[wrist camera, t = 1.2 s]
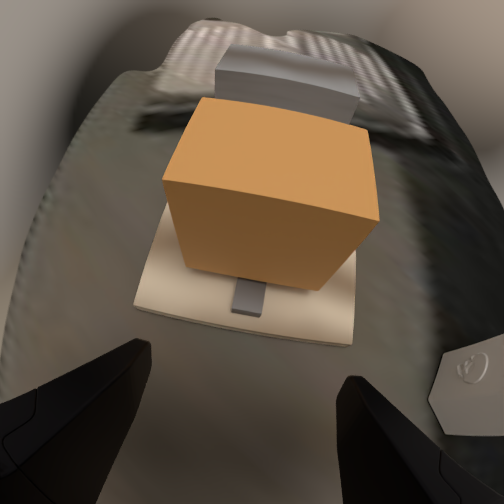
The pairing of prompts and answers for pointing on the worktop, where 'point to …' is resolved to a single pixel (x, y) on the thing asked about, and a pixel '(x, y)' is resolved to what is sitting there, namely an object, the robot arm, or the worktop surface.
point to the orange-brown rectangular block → (270, 193)
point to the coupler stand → (246, 290)
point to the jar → (471, 390)
